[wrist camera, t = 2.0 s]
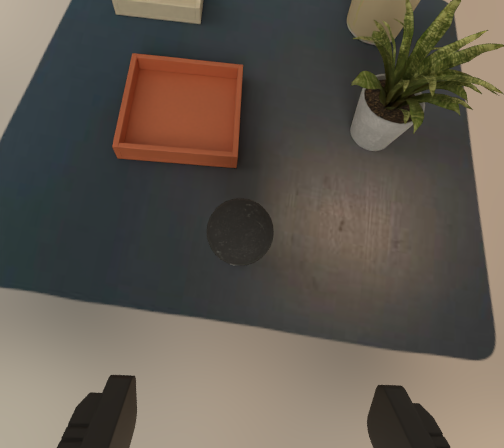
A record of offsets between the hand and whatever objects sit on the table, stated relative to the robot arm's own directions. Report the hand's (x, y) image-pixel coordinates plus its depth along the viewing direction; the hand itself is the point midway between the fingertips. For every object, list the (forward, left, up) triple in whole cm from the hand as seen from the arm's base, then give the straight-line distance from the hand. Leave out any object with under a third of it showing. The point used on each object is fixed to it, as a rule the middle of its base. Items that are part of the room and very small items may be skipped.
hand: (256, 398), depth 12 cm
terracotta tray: (-7, +29, -22) cm, 37 cm away
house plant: (+15, +28, -22) cm, 39 cm away
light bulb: (0, +12, -22) cm, 25 cm away
